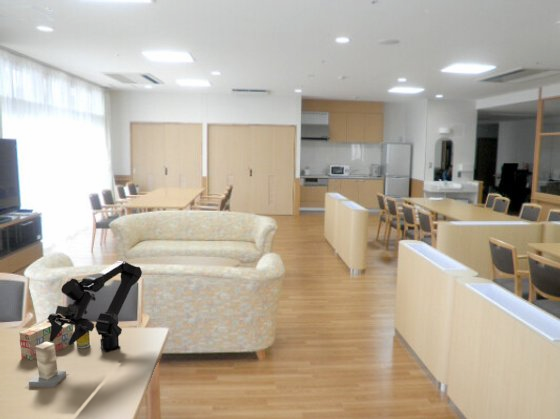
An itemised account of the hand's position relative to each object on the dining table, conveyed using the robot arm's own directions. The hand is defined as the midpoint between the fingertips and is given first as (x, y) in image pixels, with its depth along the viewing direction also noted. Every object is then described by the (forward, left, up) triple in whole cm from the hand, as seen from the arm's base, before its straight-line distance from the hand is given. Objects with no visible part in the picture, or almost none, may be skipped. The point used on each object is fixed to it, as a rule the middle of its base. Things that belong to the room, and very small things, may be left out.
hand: (59, 343), depth 179 cm
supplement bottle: (-16, -22, -13) cm, 30 cm away
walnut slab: (+6, +3, -14) cm, 16 cm away
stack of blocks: (-3, -26, -14) cm, 30 cm away
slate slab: (+6, +3, -12) cm, 14 cm away
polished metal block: (+6, +3, -10) cm, 12 cm away
